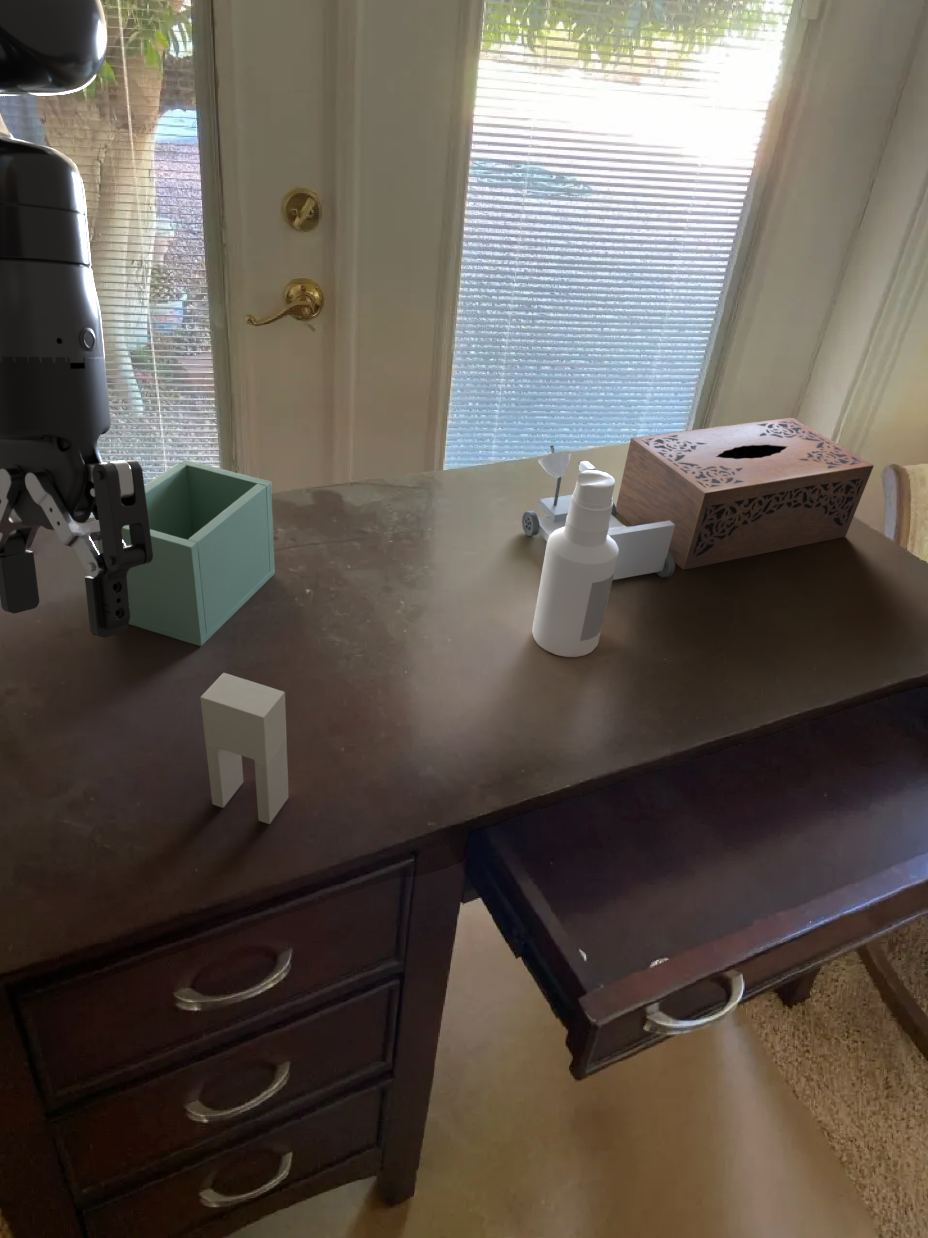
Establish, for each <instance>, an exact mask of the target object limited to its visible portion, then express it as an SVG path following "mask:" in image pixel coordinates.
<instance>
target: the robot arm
mask: <svg viewBox="0 0 928 1238" xmlns="http://www.w3.org/2000/svg"><path fill="white" fill-rule="evenodd" d="M107 28H108V26H107V22H106V16H105V12H104V8H103V5H102V1H101V0H0V97H1V96H2V97H3V96H4V97H5V96H8V97H9V96H57V95H66V94H70V93H74V92H78V91H80V90H82V89H84V88H86V87H87V86H89V85H90V84H91V83H92V82H94V80H95V78H96V77H98V75H99V73H100V72H101V71H102V68H103V65H104V62H105V59H106V55H107V51H108V50H107V49H108V29H107ZM87 216H88V214H87V203H86V195H85V188H84V183H83V179H82V176H81V172H80V170H79V168H78V165H76V163H75V161H73V160H72V159H71V158H70V157H68V156H67V155H66V154H64V153H62V152H60V151H58V150H56V149H54V148H51V147H49V146H45V145H41V144H39V143H34V142H30V141H27V140H26V141H25V140H21V139H17V138H14V136H13V135H12V133H11V131H10V130H9V128H8V126H7V124H6V122H5V119H4V117H3V115H2V113H1V111H0V606H1V608H2V610H3V611H4V612H7V613H11V614H18V613H22V612H26V611H30V610H34V609H36V608H37V607H38V606H39V604H40V595H39V593H40V592H39V587H38V579H37V571H36V570H37V569H36V561H35V553H34V551H32V550H27V549H30V548H32V544H33V543H34V540H35V537H36V535H37V532H38V530H39V529H40V528H41V527H42V528H44V529H46V530H50V531H54V532H55V533H56V535H57V537H58V539H59V541H60V543H62V544H63V545H64V546H67V547H70V548H72V549H73V551H74V552H75V554H76V556H77V558H78V560H79V561H80V563H81V565H82V566H83V568H84V570H85V572H86V573H87V576H84V584H85V585H84V586H85V591H86V592H85V593H86V602H87V604H86V605H87V613H88V614H87V615H88V619H89V620H88V621H89V630H90V633H91V634H92V635H93V636H95V637H99V638H102V639H103V638H104V639H106V638H109V637H112V636H116V635H119V634H122V633H124V632H126V630H127V629H128V627H129V625H130V624H129V619H130V609H129V601H128V600H129V598H128V587H127V572H128V570H129V569H130V568H132V567H135V566H138V565H142V564H146V563H150V562H151V561H152V559H153V551H152V543H151V535H150V527H149V519H148V511H147V503H146V495H145V487H144V486H145V480H144V471H143V467H142V465H141V464H140V462H139V461H137V460H135V459H131V460H117V461H110V462H104V461H103V458H102V456H101V453H100V449H99V445H98V441H99V438H100V437H101V436H102V435H104V434H106V433H107V432H108V431H110V429H111V426H112V423H111V422H112V421H111V412H110V411H111V409H110V401H109V399H110V398H109V388H108V380H107V378H108V377H107V369H106V367H107V366H106V359H105V357H106V355H105V345H104V344H105V343H104V335H103V325H102V314H101V308H100V303H99V298H98V294H97V291H96V285H95V281H94V274H93V269H92V268H91V266H92V259H91V248H90V238H89V228H88V218H87ZM91 515H93V517H94V520H95V519H96V520H95V521H94V520H91V521H88V520H89V519H90V518H91ZM126 525H129V531H130V539H131V545H130V546H126V545H125V543H124V541H123V540H122V532H121V531H122V528H123V527H124V526H126ZM97 540H98V541H100V542H101V543H102V547H103V553H101V554H100V552H99V550H98V549H97V548H96V545H95V544H94V542H95V541H97ZM98 541H97V542H98Z"/></svg>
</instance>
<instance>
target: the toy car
mask: <svg viewBox="0 0 928 1238" xmlns="http://www.w3.org/2000/svg"><path fill="white" fill-rule="evenodd" d="M549 448H550V452H551V453H549V454H547V455H544V456H542V457H540V458H539V459H538V460H537V462H538V463H539V465H540V466H541V467H542V469H543V470H544V471H545V472H546V473H547V474H548V475H549V476H550V477H552V478H554V479H556V480H557V481H556V487H555V493H554V496H552V497H545V498H544V497H543V498H539V499H538V505H537V507H538V508H539V509H540V510H541V511H542V512H543V513H544V514H545V515H546V516H545V517H543V516H542V517H539V516H538V514H537V512H536V511H534V510H531V509H530V510H526V511H524V512H523V513H522V517H521V527H522V529H523V532H524V534H525V535H526V536H527V537H534V536H537V535H538V534H539V535H540V537H542V538H543V539H544V541H545V542H547V541H548V538H549V536H550V535H551V534H552V533H553V532H554V531H555V530H557V529H560V528H562V527H565V523H566V518H567V515H568V512H569V506H570V501H571V496H572V494H567V495H560V496H559V494H560V489H561V481H562V478H564V476H565V475H566V474H567V471H568V469H569V466H570V462H571V456H572V452H571V451H569V450H567V451H566V450H563V451H561V450H560V451H556V450H555V446H554V445H553V444H552V445H549ZM577 464H578V470H579V471H580V472H583V471H587V470H596V469H597V468H596V467H595V466H594V465H593V464H592V463H591V462H589V461H588V460H582V459H581V460H579V461H578V462H577ZM596 471H597V470H596ZM617 514H618V512H616V504H615V502H613V507H612V511H611V516H610V521H609V523H610V525H609V530H608V534H607V535H609V536H610V537H611V538H612V539H613V540H614V541H615V542H616V544H617V546H618V549H619V553H618V558H617V563H616V567H615V572H614V576H613V580H612V581H617V580H620V579H621V580H622V579H626V578H631V577H636V576H643V575H648V574H652V573H656V575H657V576H658V577H660V578H662V579H666V578H670V577H671V576H673V574H674V573H675V569H676V563H675V562H674V559H673V556H672V555H671V554H670V553H669V552H668V550H669V546H670V542H671V538H672V535H673V531H674V527H675V524H673V523H672V522H671V521H670V520H669V521H663V522H657V523H650V524H644V525H638V526H633V525H631V526H627V525H624V524H623V523H622V522H621V521H620V520H619V519H617Z"/></svg>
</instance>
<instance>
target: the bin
mask: <svg viewBox="0 0 928 1238" xmlns="http://www.w3.org/2000/svg"><path fill="white" fill-rule="evenodd" d="M144 487H145V495H146V503H147V511H148V519H149V527H150V535H151V543H152V551H153V559H152V561H151V562H150V563H146V564H142V565H138V566H135V567H132V568H130V569H129V570H128V572H127V587H128V598H129V600H128V601H129V609H130V619H129V624H128V625H131V626H133V627H137V628H140V629H143V630H146V631H150V632H153V633H156V634H160V635H162V636H165V637H169V638H171V639H176V640H179V641H182V642H184V643H187V644H192V645H194V646H199V647H202V646H203V645H205V643H207V641H209V640H210V639H211V638H212V637H213V635H215V634H216V633H217V632H218V631H219V630H220V629H221V628H222V627H223V626H224V625H225V624H226V623H227V622H228V621H229V620H230V619H231V618H232V617H233V616H234V615H235V614H236V613H237V612H238V611H239V610H240V609H241V608H242V607H243V606H244V605H246V603H247V602H248V601H249V600H250V599H251V598H252V597H253V596H254V595H255V594H256V593H257V592H258V591H259V590H260V589H261V588H262V587H263V586H264V585H265V584H266V583H267V582H268V581H269V580H270V579H271V578H272V577H273V576H274V575H275V574H276V572H275V571H276V569H275V567H276V565H275V546H274V542H275V541H274V521H273V519H274V518H273V499H272V495H273V494H272V481H269V480H266V479H261V478H258V477H254V476H249V475H247V474H242V473H239V472H235V471H231V470H227V469H224V468H219V467H215V466H211V465H208V464H203V463H200V462H196V461H192V460H188V459H184V458H183V459H182V460H180V461H179V462H178V463H176V464H174V465H173V466H171V468H169V469H167V470H166V471H164V472H163V473H161V474H160V475H158V476H157V477H155V478H154V479H153V480H151V481H149V482H148V483H146V484H144ZM95 520H96V519H95V518H94V519H93V521H95ZM121 532H122V540H123V541H124V543H125V545H126V546H130V545H131V539H130V531H129V525H126V526H124V527H123V528H122V531H121ZM96 541H97V545H98V553H99V554H101V553H103V547H102V543H101V542H100V541H98V540H96Z"/></svg>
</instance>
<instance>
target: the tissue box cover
mask: <svg viewBox="0 0 928 1238" xmlns="http://www.w3.org/2000/svg"><path fill="white" fill-rule="evenodd" d="M874 467H875V465H874V464H872V463H871V462H869V461H867V460H865V459H864V458H862V457H861V456H859V455H857V454H856V453H854V452H852V451H850V450H848V449H847V448H846V447H844V446H842V445H840V444H838V443H837V442H835V441H833V440H831V439H830V438H828V437H826V436H824V435H823V434H821V433H819V432H817V431H816V430H814V429H813V428H811V427H809V426H807V425H806V424H804V423H802V422H801V421H798V419H796V418H793V417H784V418H776V419H768V420H761V421H760V420H759V421H751V422H744V423H737V424H730V425H729V424H728V425H721V426H712V427H706V428H705V427H704V428H697V429H691V430H690V429H689V430H683V431H674V432H667V433H659V434H651V435H643V436H636V437H635V436H634V437H631V438H630V441H629V445H628V450H627V455H626V460H625V463H624V468H623V472H622V473H623V474H622V478H621V482H620V487H619V492H618V496H617V500H616V504H615V507H616V512H617V514H618V515H620V516H621V517H622V518H623V519H624V520H625V521H627V522H628V523H629V524H630V525H631V526H638V525H644V524H650V523H657V522H663V521H669V520H670V521H671V522H672V523H673V524H675V527H674V531H673V535H672V538H671V542H670V546H669V550H668V552H669V553H670V554H671V555H672V556H673V559H674V562H675V565H677V566H679V568H681V570H685V571H686V570H689V569H695V568H700V567H703V566H704V567H705V566H709V565H713V564H714V565H715V564H717V563H718V564H719V563H723V562H728V561H733V560H738V559H743V558H748V557H753V556H757V555H762V554H767V553H772V552H776V551H782V550H787V549H791V548H795V547H797V548H798V547H801V546H805V545H811V544H817V543H820V542H826V541H830V540H831V541H832V540H837V539H840V538H845V537H846V536H847V534H848V531H849V529H850V527H851V524H852V521H853V519H854V518H855V517H854V516H855V514H856V512H857V509H858V506H859V504H860V501H861V499H862V496H863V494H864V492H865V489H866V486H867V484H868V481H869V479H870V476H871V474H872V471H873V470H874Z"/></svg>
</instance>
